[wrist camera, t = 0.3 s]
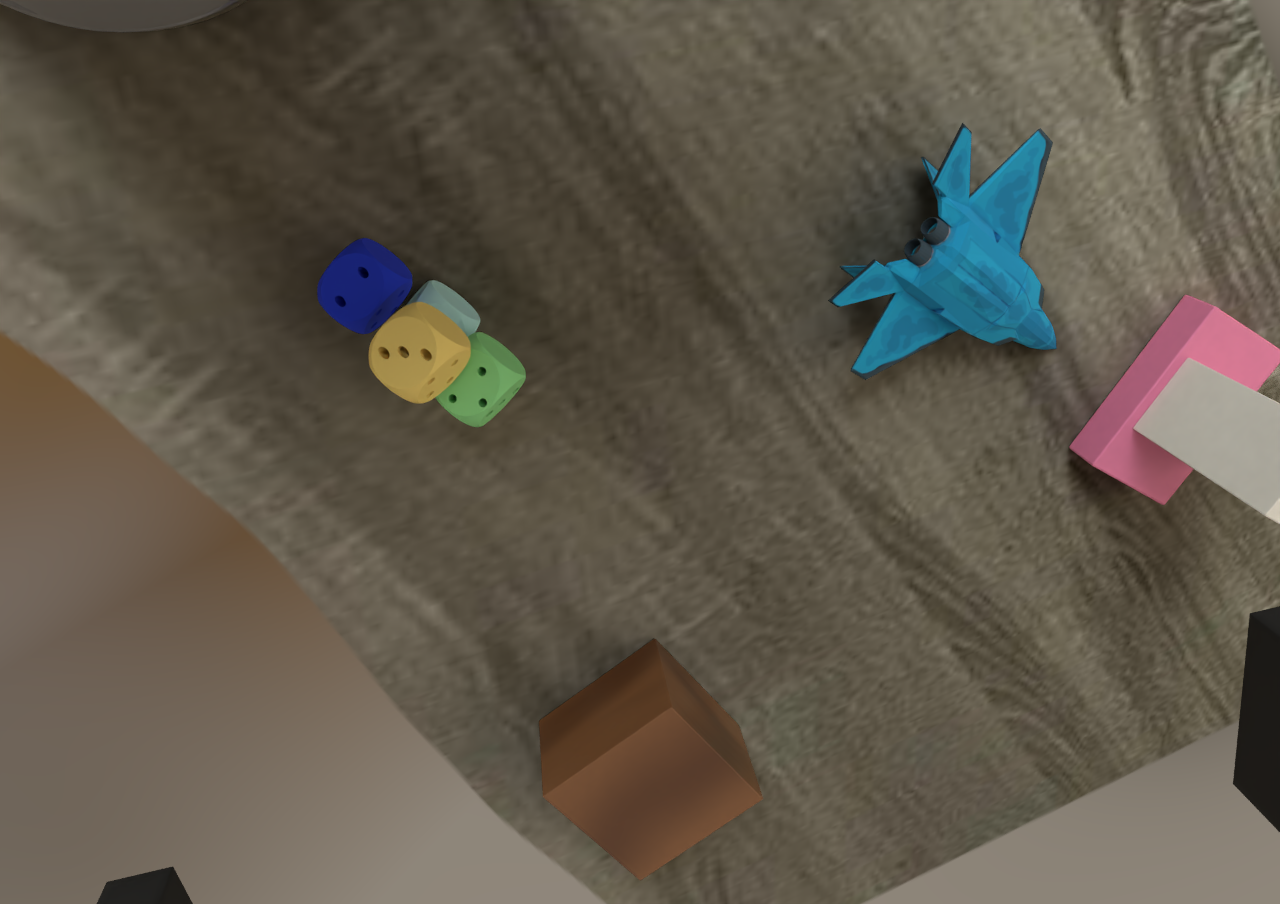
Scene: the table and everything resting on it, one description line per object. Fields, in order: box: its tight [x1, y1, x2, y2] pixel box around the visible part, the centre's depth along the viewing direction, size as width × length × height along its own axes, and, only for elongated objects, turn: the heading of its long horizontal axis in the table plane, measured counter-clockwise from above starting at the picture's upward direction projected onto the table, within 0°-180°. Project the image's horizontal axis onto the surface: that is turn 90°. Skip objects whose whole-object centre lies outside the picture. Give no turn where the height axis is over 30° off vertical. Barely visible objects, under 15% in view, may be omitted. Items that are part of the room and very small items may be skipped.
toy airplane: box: [828, 123, 1056, 380], centre depth 37 cm, size 12×10×4 cm
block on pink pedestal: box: [1069, 295, 1280, 525], centre depth 39 cm, size 8×4×10 cm, turn 150°
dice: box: [317, 238, 526, 427], centre depth 35 cm, size 8×3×6 cm, turn 48°
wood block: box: [539, 639, 763, 880], centre depth 45 cm, size 7×7×5 cm
